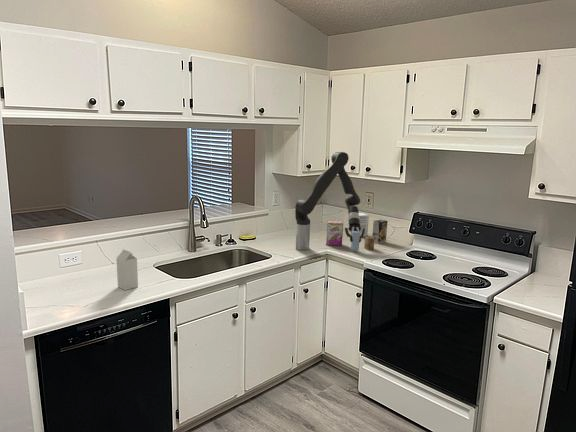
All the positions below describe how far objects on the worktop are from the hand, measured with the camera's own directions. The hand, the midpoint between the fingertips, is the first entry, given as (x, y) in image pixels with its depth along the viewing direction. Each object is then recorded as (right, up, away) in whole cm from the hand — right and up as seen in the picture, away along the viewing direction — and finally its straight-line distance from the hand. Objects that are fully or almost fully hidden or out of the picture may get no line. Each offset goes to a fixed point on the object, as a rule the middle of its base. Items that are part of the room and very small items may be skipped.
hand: (355, 241), depth 295 cm
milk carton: (-125, -19, -73) cm, 146 cm away
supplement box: (+10, +2, +50) cm, 51 cm away
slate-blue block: (0, -5, +3) cm, 6 cm away
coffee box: (+22, -2, +30) cm, 37 cm away
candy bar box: (-12, -3, +20) cm, 24 cm away
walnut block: (+11, -6, +11) cm, 17 cm away
